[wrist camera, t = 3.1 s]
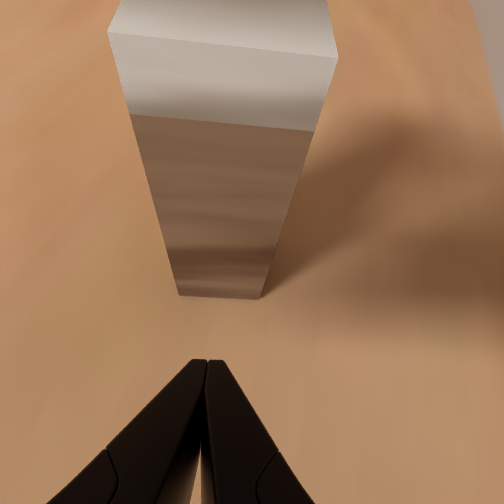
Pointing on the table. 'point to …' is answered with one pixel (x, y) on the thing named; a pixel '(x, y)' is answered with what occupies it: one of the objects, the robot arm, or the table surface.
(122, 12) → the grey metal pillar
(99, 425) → the table surface
